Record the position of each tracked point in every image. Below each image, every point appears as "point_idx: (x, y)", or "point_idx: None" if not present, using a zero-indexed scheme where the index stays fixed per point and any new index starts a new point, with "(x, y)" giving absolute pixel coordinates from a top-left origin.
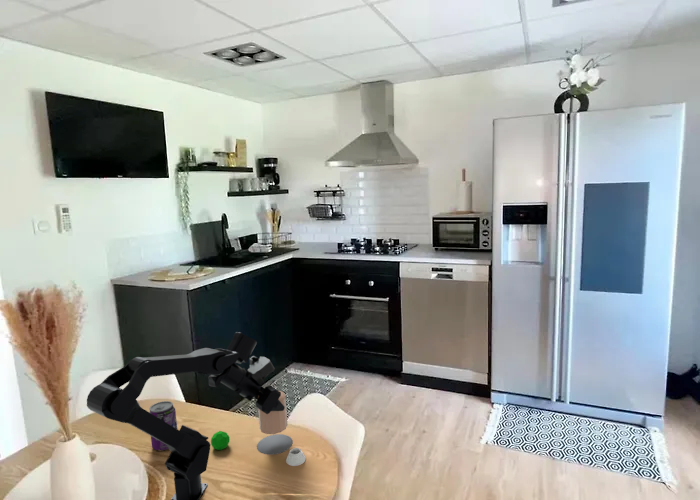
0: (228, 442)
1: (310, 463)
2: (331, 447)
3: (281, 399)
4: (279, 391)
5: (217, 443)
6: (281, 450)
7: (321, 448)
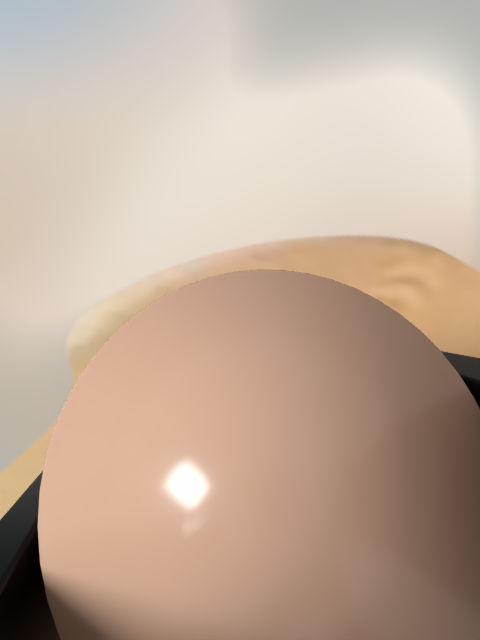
0: None
1: (446, 347)
2: (355, 243)
3: (429, 341)
4: (156, 315)
5: None
6: None
7: (350, 278)
